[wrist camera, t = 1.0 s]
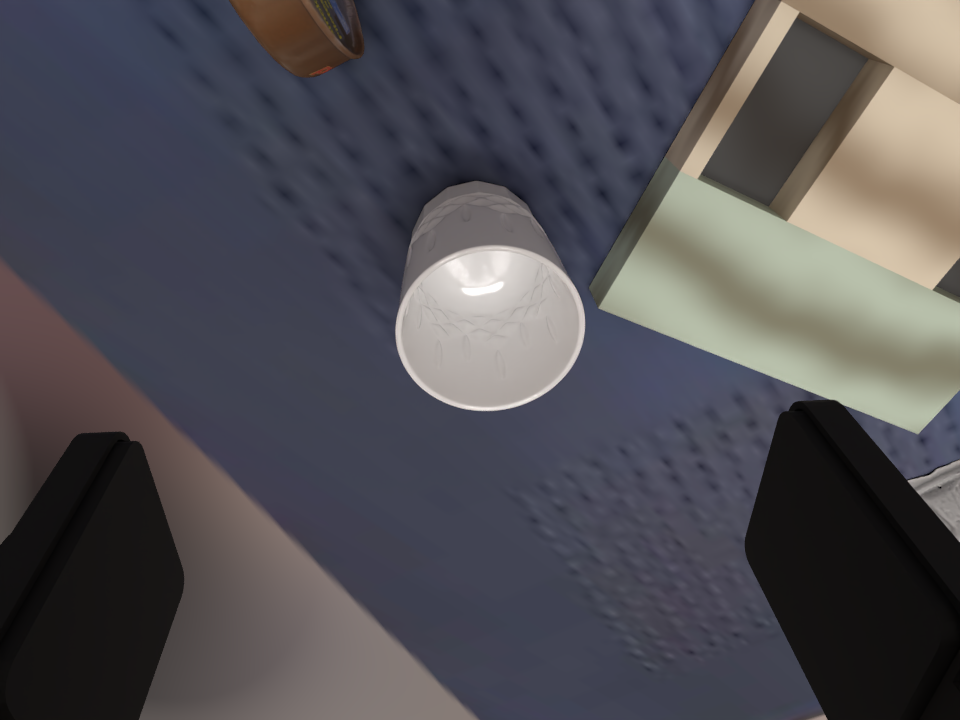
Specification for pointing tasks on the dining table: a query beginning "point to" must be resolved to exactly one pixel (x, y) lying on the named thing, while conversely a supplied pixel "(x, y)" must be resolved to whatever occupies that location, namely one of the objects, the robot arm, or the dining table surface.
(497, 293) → the white cup
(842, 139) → the board
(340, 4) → the tin
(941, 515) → the embossed grey dome
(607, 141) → the dining table surface
